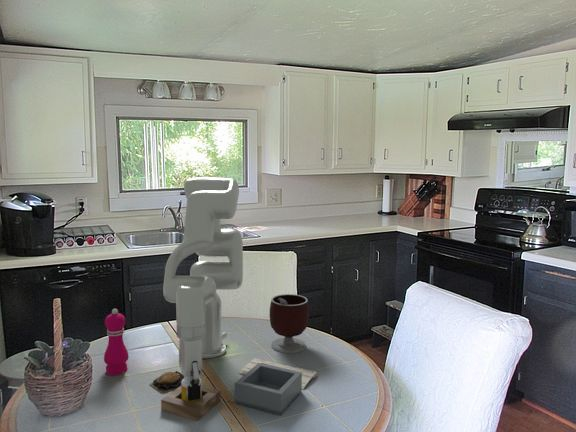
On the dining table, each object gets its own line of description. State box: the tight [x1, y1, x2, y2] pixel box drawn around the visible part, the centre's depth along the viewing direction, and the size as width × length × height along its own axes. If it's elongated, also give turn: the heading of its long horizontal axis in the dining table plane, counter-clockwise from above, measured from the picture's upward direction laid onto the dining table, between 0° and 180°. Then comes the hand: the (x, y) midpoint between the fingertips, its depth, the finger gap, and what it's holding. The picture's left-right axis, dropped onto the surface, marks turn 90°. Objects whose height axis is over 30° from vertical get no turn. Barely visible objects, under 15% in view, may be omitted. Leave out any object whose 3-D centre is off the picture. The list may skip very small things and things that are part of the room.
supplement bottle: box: [181, 372, 203, 403], centre depth 133 cm, size 5×5×10 cm
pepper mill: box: [103, 308, 129, 376], centre depth 152 cm, size 7×7×20 cm
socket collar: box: [160, 385, 222, 422], centre depth 134 cm, size 11×11×3 cm
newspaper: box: [238, 357, 318, 391], centre depth 154 cm, size 23×12×2 cm, turn 64°
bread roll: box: [149, 370, 183, 394], centre depth 146 cm, size 11×8×4 cm
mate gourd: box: [269, 293, 310, 354], centre depth 173 cm, size 16×14×20 cm
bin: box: [234, 363, 302, 416], centre depth 139 cm, size 14×14×6 cm
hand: (191, 391), depth 133 cm, fingers open, 7 cm apart
